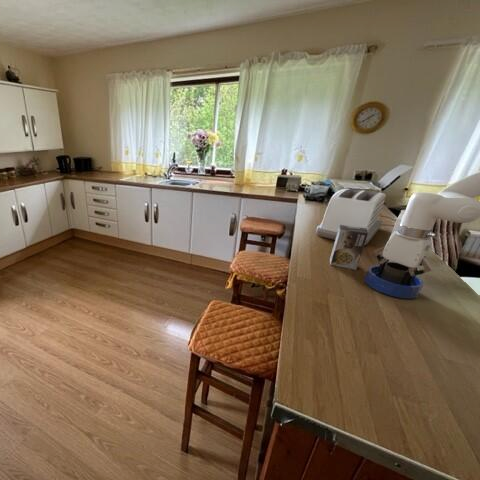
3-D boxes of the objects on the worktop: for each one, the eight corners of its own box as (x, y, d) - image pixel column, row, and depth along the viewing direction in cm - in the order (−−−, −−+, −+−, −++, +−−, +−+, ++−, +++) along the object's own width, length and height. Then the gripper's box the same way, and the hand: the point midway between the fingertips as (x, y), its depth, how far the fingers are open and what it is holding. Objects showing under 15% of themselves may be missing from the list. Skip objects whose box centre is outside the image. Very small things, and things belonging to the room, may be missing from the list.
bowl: (426, 293, 87) (432, 281, 85) (403, 304, 82) (409, 291, 80) (378, 273, 99) (382, 262, 98) (355, 281, 94) (359, 270, 92)
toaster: (381, 227, 150) (394, 189, 141) (364, 248, 121) (381, 203, 112) (336, 218, 165) (346, 183, 156) (312, 235, 136) (323, 194, 128)
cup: (407, 289, 89) (416, 269, 86) (396, 293, 86) (405, 273, 83) (384, 279, 94) (392, 260, 91) (373, 283, 92) (381, 264, 89)
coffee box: (354, 264, 107) (367, 228, 101) (356, 270, 102) (369, 233, 95) (329, 258, 111) (339, 224, 105) (329, 264, 106) (340, 228, 100)
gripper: (455, 239, 76) (430, 289, 83) (388, 222, 91) (372, 266, 98) (443, 243, 74) (418, 294, 80) (376, 224, 88) (360, 269, 95)
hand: (393, 278), depth 89 cm, fingers closed on cup, 6 cm apart
